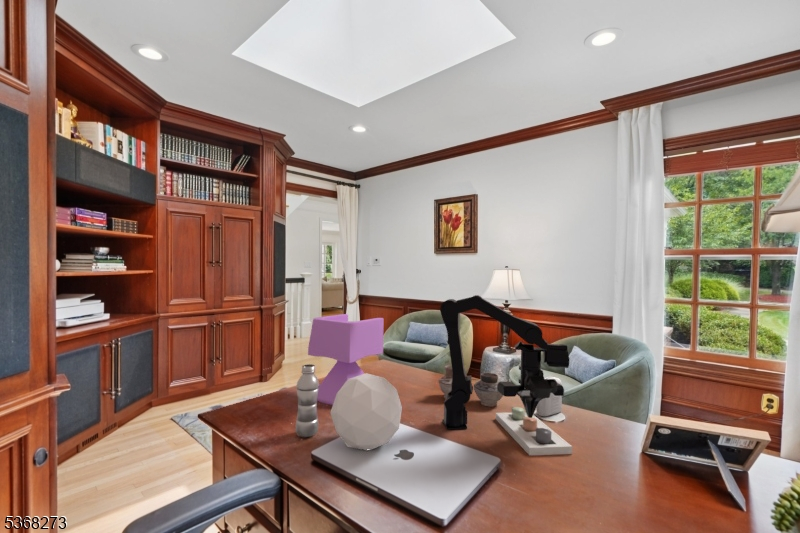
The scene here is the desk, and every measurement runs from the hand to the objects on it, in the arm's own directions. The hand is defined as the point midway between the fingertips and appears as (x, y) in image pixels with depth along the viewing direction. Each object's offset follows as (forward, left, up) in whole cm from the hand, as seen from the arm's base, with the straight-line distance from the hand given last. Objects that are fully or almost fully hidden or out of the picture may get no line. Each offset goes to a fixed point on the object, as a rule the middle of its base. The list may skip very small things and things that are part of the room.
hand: (529, 417), depth 109 cm
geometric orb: (-49, -3, -5) cm, 49 cm away
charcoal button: (0, -8, -4) cm, 9 cm away
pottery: (-9, +29, -6) cm, 31 cm away
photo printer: (+15, +16, -5) cm, 23 cm away
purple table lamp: (-56, +35, -5) cm, 66 cm away
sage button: (0, +8, -4) cm, 9 cm away
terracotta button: (0, 0, -4) cm, 4 cm away
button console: (0, 0, -5) cm, 5 cm away
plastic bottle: (-66, +4, -5) cm, 66 cm away
